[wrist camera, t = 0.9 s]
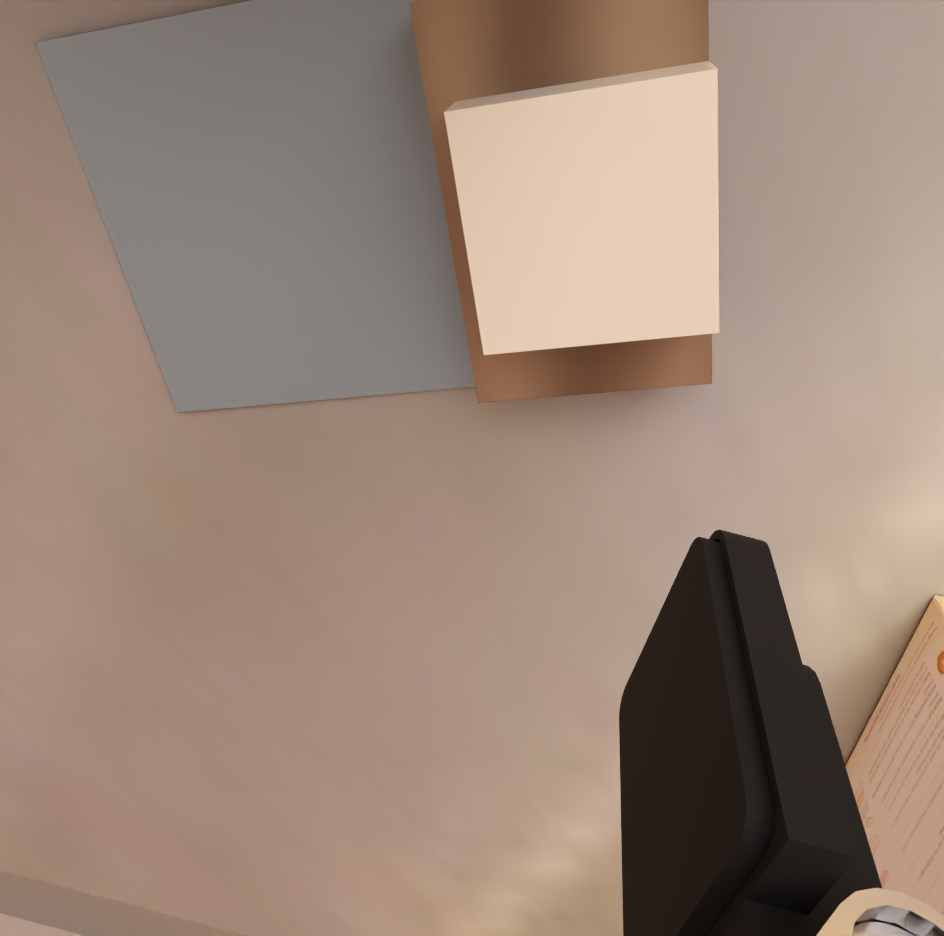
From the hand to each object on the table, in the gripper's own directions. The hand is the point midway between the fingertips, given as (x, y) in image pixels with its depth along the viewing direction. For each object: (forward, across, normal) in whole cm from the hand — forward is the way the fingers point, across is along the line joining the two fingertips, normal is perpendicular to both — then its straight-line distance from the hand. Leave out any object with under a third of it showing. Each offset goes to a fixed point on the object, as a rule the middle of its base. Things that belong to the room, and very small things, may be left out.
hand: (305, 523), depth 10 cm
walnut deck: (+25, -3, +1) cm, 25 cm away
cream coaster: (+20, -3, 0) cm, 20 cm away
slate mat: (+25, +9, +5) cm, 27 cm away
